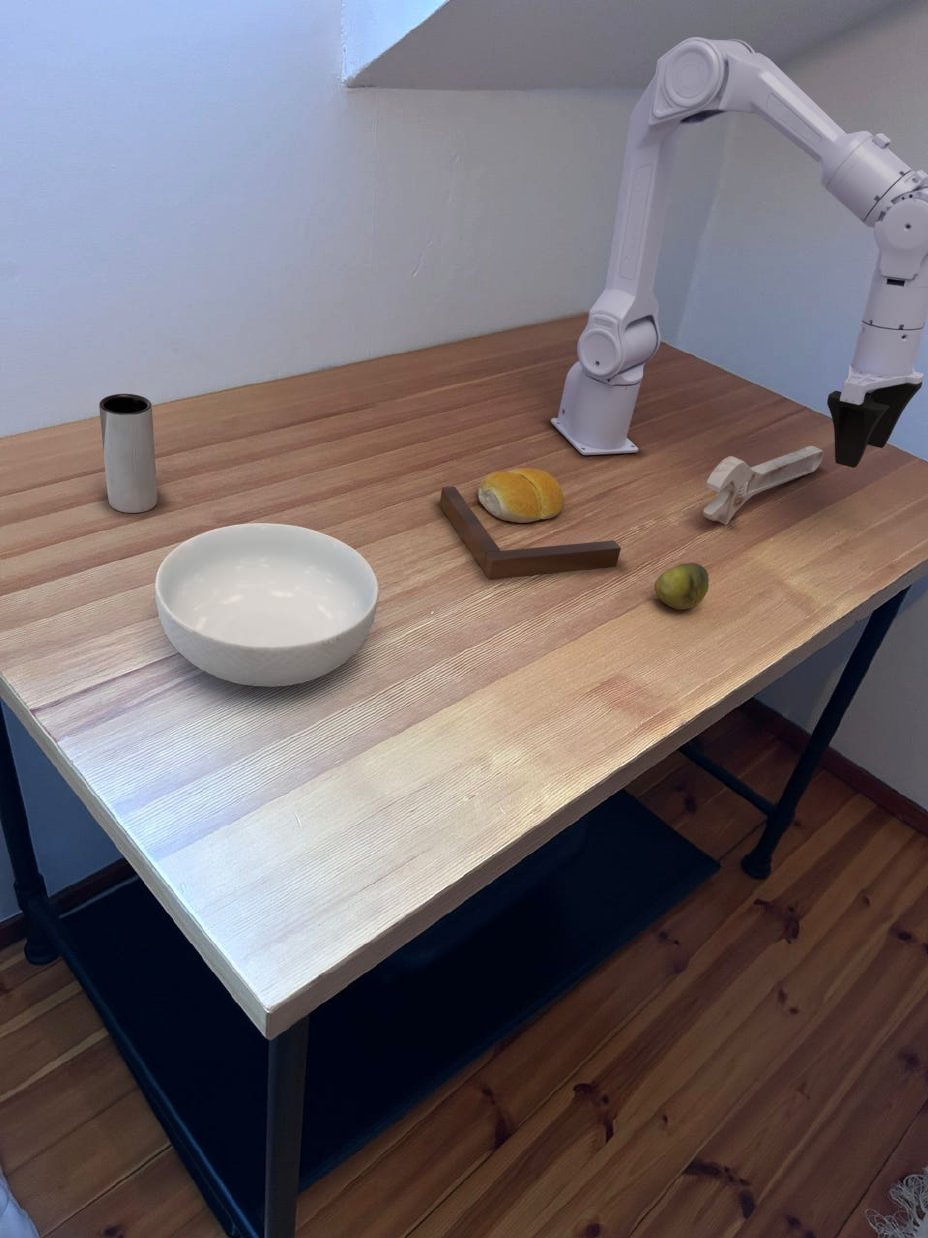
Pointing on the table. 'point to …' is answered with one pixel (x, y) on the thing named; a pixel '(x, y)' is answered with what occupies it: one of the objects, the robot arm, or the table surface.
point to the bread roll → (521, 495)
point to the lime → (682, 585)
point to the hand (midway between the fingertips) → (860, 454)
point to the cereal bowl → (266, 602)
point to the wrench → (754, 479)
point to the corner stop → (521, 559)
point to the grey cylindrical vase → (129, 452)
